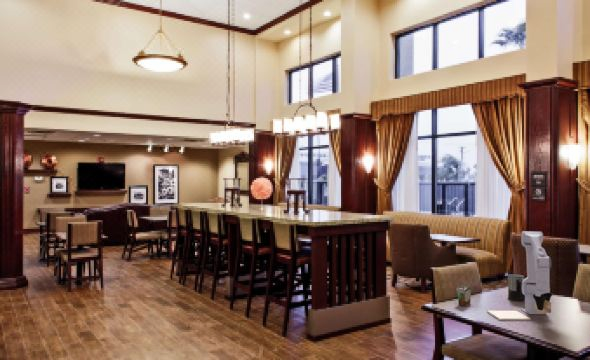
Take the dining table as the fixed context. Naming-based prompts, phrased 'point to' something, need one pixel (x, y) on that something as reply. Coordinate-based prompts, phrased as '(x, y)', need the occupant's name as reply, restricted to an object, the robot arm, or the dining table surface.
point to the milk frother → (515, 287)
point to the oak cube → (546, 307)
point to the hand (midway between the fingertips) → (542, 308)
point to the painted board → (509, 316)
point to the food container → (464, 295)
